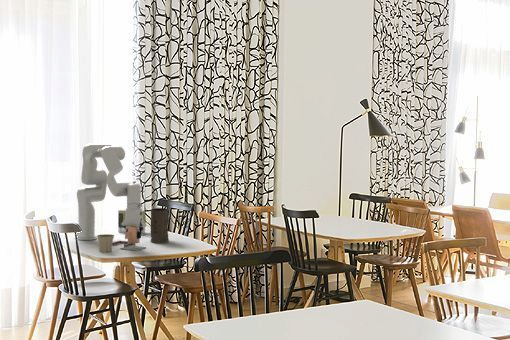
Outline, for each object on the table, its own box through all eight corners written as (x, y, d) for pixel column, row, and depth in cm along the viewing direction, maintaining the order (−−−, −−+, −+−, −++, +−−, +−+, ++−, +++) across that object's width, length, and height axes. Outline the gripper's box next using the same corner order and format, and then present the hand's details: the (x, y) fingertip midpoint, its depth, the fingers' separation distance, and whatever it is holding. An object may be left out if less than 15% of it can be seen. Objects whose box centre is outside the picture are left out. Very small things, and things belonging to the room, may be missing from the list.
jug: (132, 241, 360) (132, 225, 359) (141, 242, 357) (141, 226, 356) (121, 243, 350) (121, 227, 350) (131, 244, 348) (131, 228, 347)
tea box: (145, 232, 414) (145, 210, 413) (134, 234, 405) (134, 211, 404) (128, 230, 422) (128, 208, 421) (117, 232, 413) (117, 209, 412)
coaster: (120, 249, 353) (120, 248, 353) (131, 246, 362) (131, 245, 362) (135, 250, 349) (135, 249, 349) (146, 248, 358) (146, 247, 358)
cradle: (109, 245, 364) (109, 242, 364) (120, 243, 373) (120, 240, 373) (125, 247, 360) (125, 244, 360) (135, 244, 369) (135, 242, 368)
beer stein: (164, 244, 372) (165, 210, 371) (147, 243, 375) (147, 209, 373) (173, 240, 387) (173, 207, 386) (156, 239, 390) (156, 206, 389)
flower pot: (98, 249, 351) (98, 234, 350) (115, 249, 352) (115, 234, 351) (95, 252, 342) (95, 236, 341) (113, 252, 342) (113, 236, 342)
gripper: (150, 206, 354) (150, 238, 355) (124, 204, 361) (124, 235, 362) (143, 207, 347) (142, 240, 348) (116, 205, 354) (116, 237, 355)
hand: (133, 237), depth 355 cm, fingers closed on jug, 6 cm apart
